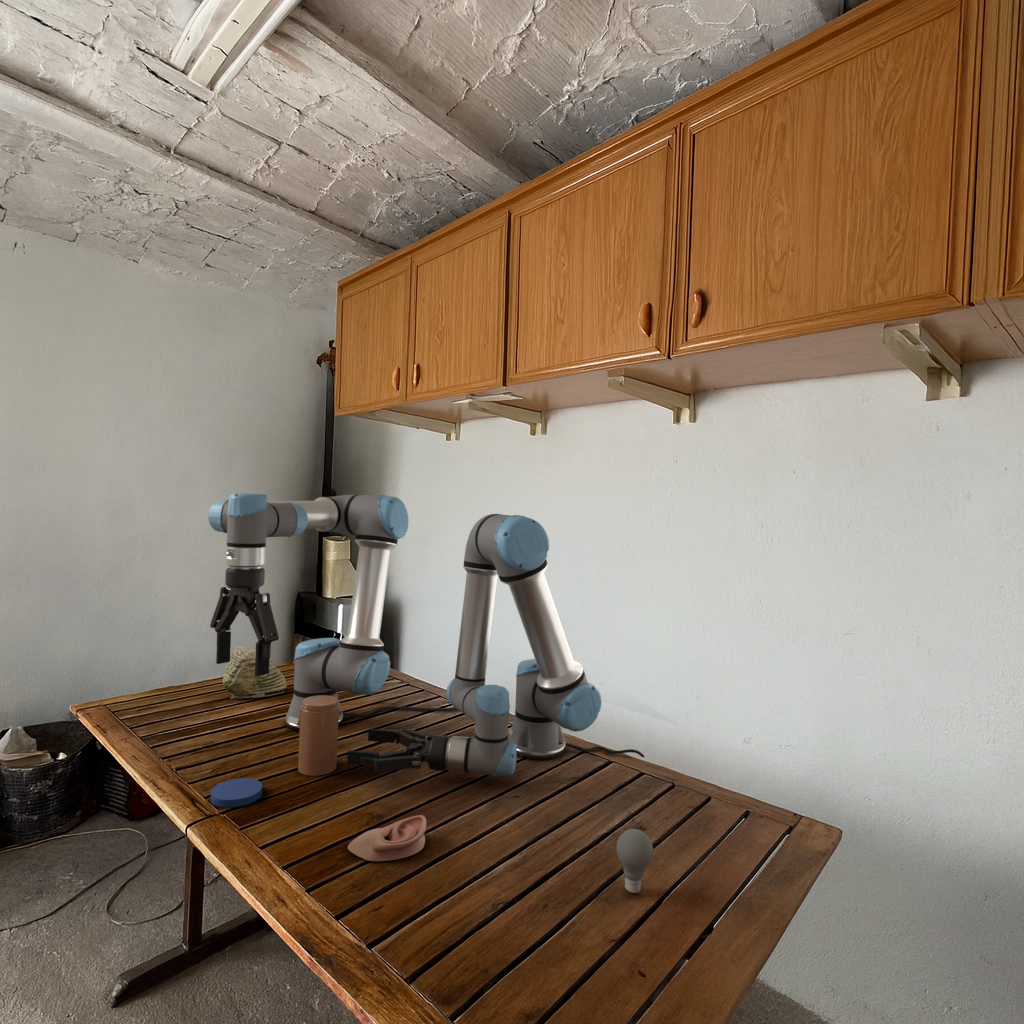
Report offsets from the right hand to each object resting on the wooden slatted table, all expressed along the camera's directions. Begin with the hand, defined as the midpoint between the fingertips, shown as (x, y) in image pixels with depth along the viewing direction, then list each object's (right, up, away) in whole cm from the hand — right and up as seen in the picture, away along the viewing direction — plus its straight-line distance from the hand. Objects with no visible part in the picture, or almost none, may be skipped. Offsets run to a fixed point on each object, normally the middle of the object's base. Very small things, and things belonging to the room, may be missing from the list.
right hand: (358, 745), depth 147 cm
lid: (-22, -4, -14) cm, 27 cm away
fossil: (-45, -3, +51) cm, 68 cm away
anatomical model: (+13, -7, -31) cm, 34 cm away
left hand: (-21, +21, -15) cm, 33 cm away
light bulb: (+56, -9, -41) cm, 70 cm away
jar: (-10, -6, +1) cm, 11 cm away
